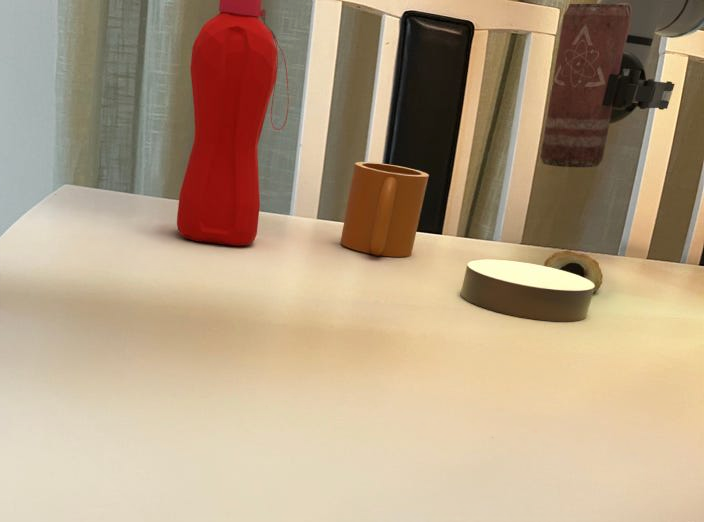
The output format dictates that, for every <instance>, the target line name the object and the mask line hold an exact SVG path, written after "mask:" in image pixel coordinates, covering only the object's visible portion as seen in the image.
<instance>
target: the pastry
mask: <svg viewBox="0 0 704 522" xmlns="http://www.w3.org/2000/svg"><path fill="white" fill-rule="evenodd" d="M543 266H545V267H550V268H554V269H558V270H562V271H566V272H569V273H572V274H576V275H578V276H581V277H583V278H586V279H588V280H589V281H591V282H593V283H594V285H595V289H594V292H597V291H598V290H599V288H601V286H602V285H603V277H604V276H603V272H602V269H601V267H600V263H599V262H598V261H597V260H596V259H594V258H592V257H591V256H589V255H588V254H585V253H578V252H574V251H570V250H564V251H557V252H554V253H553V254H551V256H549V257H548V258H547V259H546V260H545V261H544V264H543Z"/></svg>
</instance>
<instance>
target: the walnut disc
mask: <svg viewBox="0 0 704 522" xmlns="http://www.w3.org/2000/svg"><path fill="white" fill-rule="evenodd" d="M594 289H595V285H594V283H593V282H591V281H589V280H588V279H586V278H583V277H581V276H578V275H576V274H572V273H569V272H566V271H562V270H558V269H554V268H550V267H545V266H544V265H541V264H535V263H529V262H521V261H515V260H506V259H505V260H504V259H476V260H471V261H469V262H468V263H467V264H466V268H465V273H464V276H463V280H462V285H461V290H460V296H461V297H462V298H463V300H465V301H466V302H469V303H470V304H473V305H475V306H478V307H480V308H482V309H486V310H489V311H492V312H495V313H501V314H504V315H509V316H513V317H517V318H524V319H528V320H536V321H537V320H538V321H545V322H546V321H547V322H564V323H565V322H576V321H577V322H578V321H581V320H584V319H585V318H586V317H587V315H588V312H589V308H590V306H591V302H592V300H593V299H592V298H593V295H594V292H595V291H594Z"/></svg>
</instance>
